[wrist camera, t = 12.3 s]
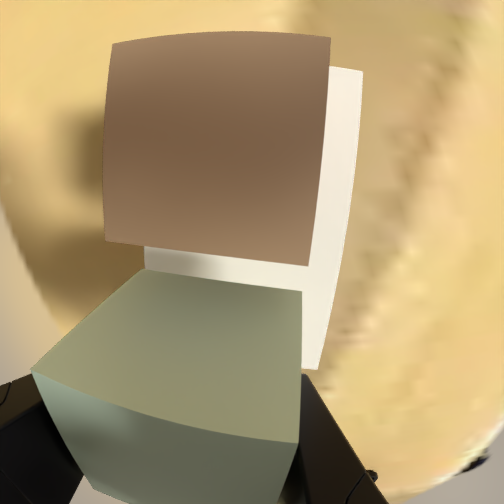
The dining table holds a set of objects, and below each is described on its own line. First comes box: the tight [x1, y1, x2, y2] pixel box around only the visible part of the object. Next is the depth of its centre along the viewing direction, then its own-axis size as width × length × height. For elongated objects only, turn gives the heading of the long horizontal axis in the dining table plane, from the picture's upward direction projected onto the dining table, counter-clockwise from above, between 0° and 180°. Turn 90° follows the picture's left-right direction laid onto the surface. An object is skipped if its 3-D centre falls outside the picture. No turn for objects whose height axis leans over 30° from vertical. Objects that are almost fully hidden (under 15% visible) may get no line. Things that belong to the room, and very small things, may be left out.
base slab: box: [144, 66, 363, 370], centre depth 12 cm, size 11×7×3 cm, turn 176°
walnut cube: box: [103, 31, 331, 266], centre depth 7 cm, size 4×4×4 cm
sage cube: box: [30, 269, 302, 504], centre depth 6 cm, size 4×4×4 cm
